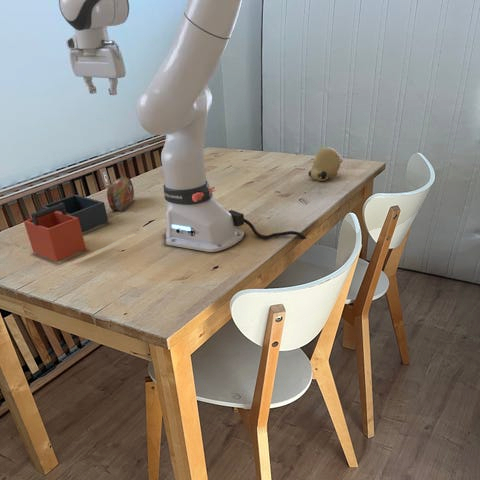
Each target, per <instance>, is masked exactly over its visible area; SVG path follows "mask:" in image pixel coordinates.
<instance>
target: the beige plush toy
mask: <svg viewBox="0 0 480 480" xmlns="http://www.w3.org/2000/svg"><path fill="white" fill-rule="evenodd" d="M342 162H343V158H341V156H340V154H339V151H337V150H336V149H334V148H333V147H328V146H323V147H320V148H319V149H318V151H317V154H316V155H315V157H314V161H313V164H312V166H311V170H309V171H308V173H307V175H308V178H310V179H312V180H313V181H316V182H326V181H327V180H329V179H331V178H333V177H338V175H339V173H338V172H339V170H340V168H341V164H342Z"/></svg>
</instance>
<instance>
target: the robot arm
mask: <svg viewBox="0 0 480 480" xmlns="http://www.w3.org/2000/svg"><path fill="white" fill-rule="evenodd" d="M242 3H243V0H187V3H186V6H185V8H184V11H183V14H182V17H181V19H180V22H179V25H178V27H177V30H176V33H175V36H174V39H173V42H172V44H171V46H170V49H169V51H168V52H167V54H166V56H165V58H164V59H163V61H162V63H161V65H160V66H159V68H158V70H157V72H156V73H155V75H154V77H153V79H152V80H151V82H150V84H149V85H148V87H147V88H146V89H145V90H144V91H143V93H142V94H141V95H140V96H139V97H138V100H137V102H136V105H135V108H136V109H135V111H136V118H137V120H138V123H139V124H140V126H141V127H142V128H143V129H144V130H145V131H146V132H147V133H149V134H151V135H154V136H165V141H164V145H163V148H162V150H161V154H160V161H161V168H162V176H163V183H164V184H163V195H164V199H165V201H166V213H165V214H166V215H165V216H166V230H165V231H166V232H165V244H166V245H167V246H170V247H178V248H182V249H190V250H195V251H201V252H206V253H216V252H217V253H218V252H220V251H224V250H227V249H229V248H231V247H233V246H234V245H236V244H237V243H239V242H240V241H242V240H243V238H244V236H245V234H244V233H245V232H244V231H243V230H241V229H239V227H241V226H243V225H245V224H246V225H248V227H249V228H250V229H251V231H252V233H253V234H254V235H255V236H257V237H258V238H259V239H264V240H268V239H272V238H275V237H284V236H288V235H289V236H290V235H293V236H296V237H299V238H300V239H302V240H307V237H306V236H305V235H304V234H303V233H301V232H300V231H295V230H289V231H287V230H286V231H281V232H273V233H270V234H261V233H259V232H258V230H257V229H256V228H255V226H254V224H252V223H251V222H250V221H249V220H247V219H246V218H245V215H244V213H242V212H239V211H237V210H233V209H230V210H227V208H225V207H224V206H223V205H222V204H221V203H220V202H219V201H218V200H217V199H216V198H215V197H214V195H213V192H215V191H216V190H215V188H216V187H215V186H212V187H211V186H210V184H209V182H208V180H207V176H206V175H207V174H206V164H205V163H206V162H205V142H206V131H207V123H208V116H209V114H210V110H211V108H212V104H213V94H212V91H211V89H210V87H209V86H208V83H209V81H210V80H211V78H212V77H213V76H214V75H215V73H216V72H217V71H218V68H219V65H220V64H221V61H222V59H223V56H224V53H225V51H226V49H227V46H228V44H229V41H230V39H231V37H232V34H233V32H234V29H235V27H236V24H237V21H238V18H239V14H240V10H241V7H242ZM58 6H59V10H60V13H61V15H62V17H63V19H64V20H65V21H66V22H67V24H68V25H70V26H71V28H73V29H74V34H73V35H71V37H69V38H68V39H67V40H66V41H65V43H66V48H67V49H68V50H69V52H68V54H69V61H70V65H71V69H72V72H73V74H74V75H75V77H79V78H83V81H84V83H85V85H86V87H87V89H88V94H91V95H92V94H93V95H94V94H97V91H98V90H97V86H95V85H94V82H93V78H96V79H97V78H98V79H108V83H109V88H108V94H109V95H110V96H117V95H118V91H117V87H118V83H119V80H118V79H122V78H125V77H126V74H127V70H126V67H125V61H124V57H123V54H122V51H121V50H120V47H119V45H118V43H117V42H116V41H115V40H110V38H109V33H108V28H107V27H115V26H119V25H123V24H124V23H126V21H127V19H128V17H129V14H130V2H129V0H58Z"/></svg>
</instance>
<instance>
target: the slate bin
mask: <svg viewBox="0 0 480 480" xmlns="http://www.w3.org/2000/svg"><path fill="white" fill-rule="evenodd" d="M59 203H64V205H65V209H66V213H67V215H71V216H74V217H77V218H78V219H79V223H80V227H81V231H82V233H85V232H87V231H89V230H92V229H94V228H96V227H99V226H101V225H104V224H107V223H108V222H109V217H108V213H107V209H106V205H105V202H104V201H101V200H98V199H94V198H90V197H86V196H82V195H78V194H73V195H70V196H67V197H64V198H62V199H59V200H56V201H53V202H49V203H47V204H45V205H42V206H41V210H44V209H47V208H50V207H52V206H55V205H58V204H59ZM57 212H61V210H58V211H57ZM61 213H62V212H61Z"/></svg>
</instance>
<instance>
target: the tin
mask: <svg viewBox="0 0 480 480" xmlns="http://www.w3.org/2000/svg"><path fill="white" fill-rule="evenodd" d="M134 197H135V191H134V185H133V182H132V180H131V179H130V178H129V176H124V177H119V178H118V179H116V180H115V181H114V182H112V183H111V184H110V185H109V186H108V188H107V191H106V198H107V203H108V205H109V209H111V210H112V211H114V212H115V211H119V212H121V210H122V208H124V207H125V206H126V205H127V204H132V202H133V200H134Z"/></svg>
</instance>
